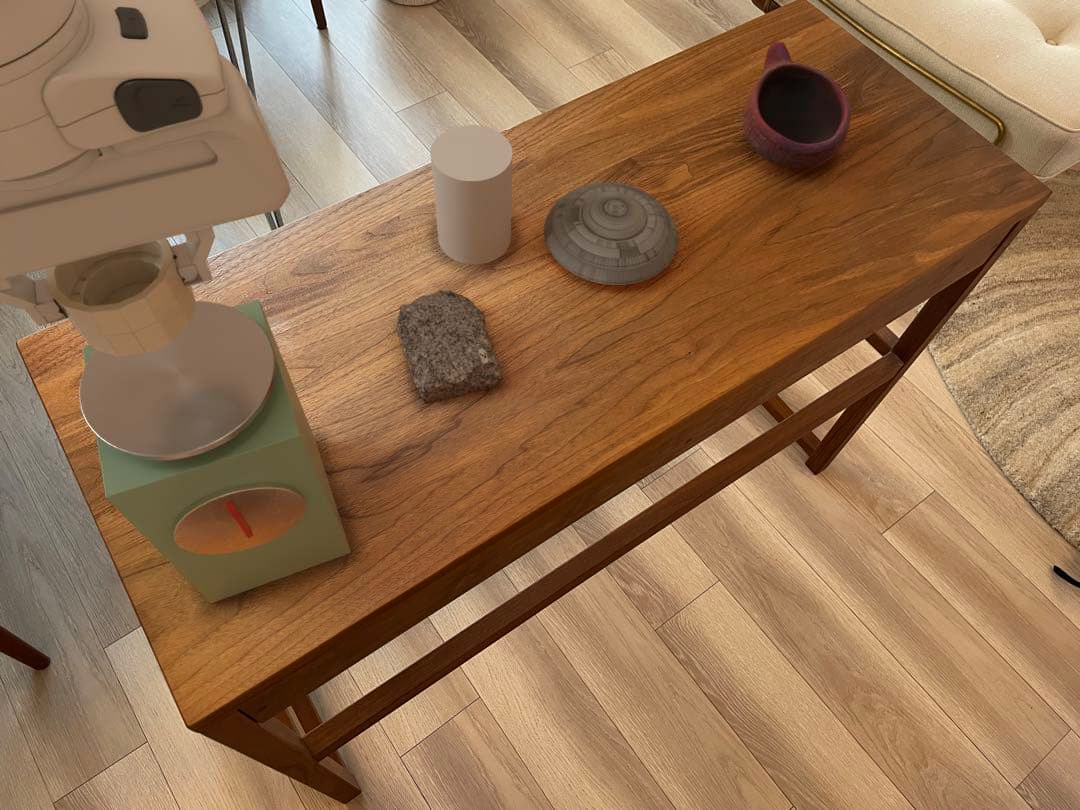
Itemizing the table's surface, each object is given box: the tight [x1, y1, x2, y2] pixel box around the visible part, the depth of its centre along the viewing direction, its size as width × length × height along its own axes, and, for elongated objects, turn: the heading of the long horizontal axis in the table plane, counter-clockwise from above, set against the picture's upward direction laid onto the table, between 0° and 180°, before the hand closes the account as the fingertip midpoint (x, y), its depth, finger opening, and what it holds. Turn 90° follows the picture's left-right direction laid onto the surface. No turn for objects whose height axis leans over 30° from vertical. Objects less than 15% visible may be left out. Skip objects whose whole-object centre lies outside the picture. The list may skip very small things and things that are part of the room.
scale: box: [78, 299, 352, 604], centre depth 61 cm, size 12×13×23 cm
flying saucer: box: [543, 181, 679, 286], centre depth 88 cm, size 15×15×6 cm
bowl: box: [742, 40, 852, 169], centre depth 97 cm, size 16×13×8 cm
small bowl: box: [45, 238, 197, 357], centre depth 44 cm, size 6×6×4 cm
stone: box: [396, 289, 502, 404], centre depth 79 cm, size 12×9×4 cm
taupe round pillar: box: [430, 124, 514, 266], centre depth 84 cm, size 8×8×12 cm
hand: (128, 293), depth 44 cm, fingers closed on small bowl, 6 cm apart
